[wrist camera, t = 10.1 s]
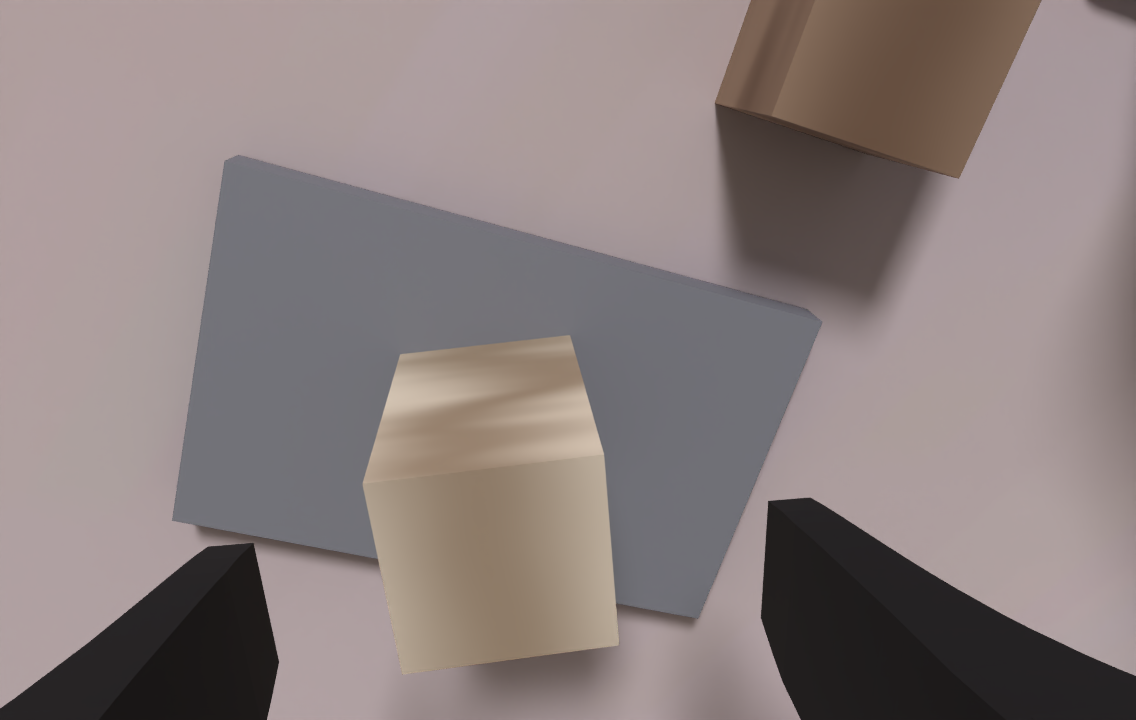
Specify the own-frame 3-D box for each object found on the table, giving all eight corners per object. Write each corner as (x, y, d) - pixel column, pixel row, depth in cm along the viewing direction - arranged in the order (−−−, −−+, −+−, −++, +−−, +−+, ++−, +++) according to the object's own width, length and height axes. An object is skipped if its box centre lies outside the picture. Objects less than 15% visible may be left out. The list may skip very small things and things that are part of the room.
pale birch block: (570, 335, 19) (604, 454, 13) (583, 482, 20) (619, 645, 15) (400, 354, 19) (362, 483, 13) (426, 501, 20) (402, 674, 15)
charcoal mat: (807, 309, 20) (822, 322, 19) (689, 595, 23) (697, 618, 22) (238, 155, 18) (224, 160, 17) (186, 499, 21) (172, 520, 20)
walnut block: (941, -23, 18) (1061, -42, 14) (867, 153, 19) (958, 178, 15) (779, -85, 17) (861, -123, 13) (714, 103, 18) (771, 115, 15)
